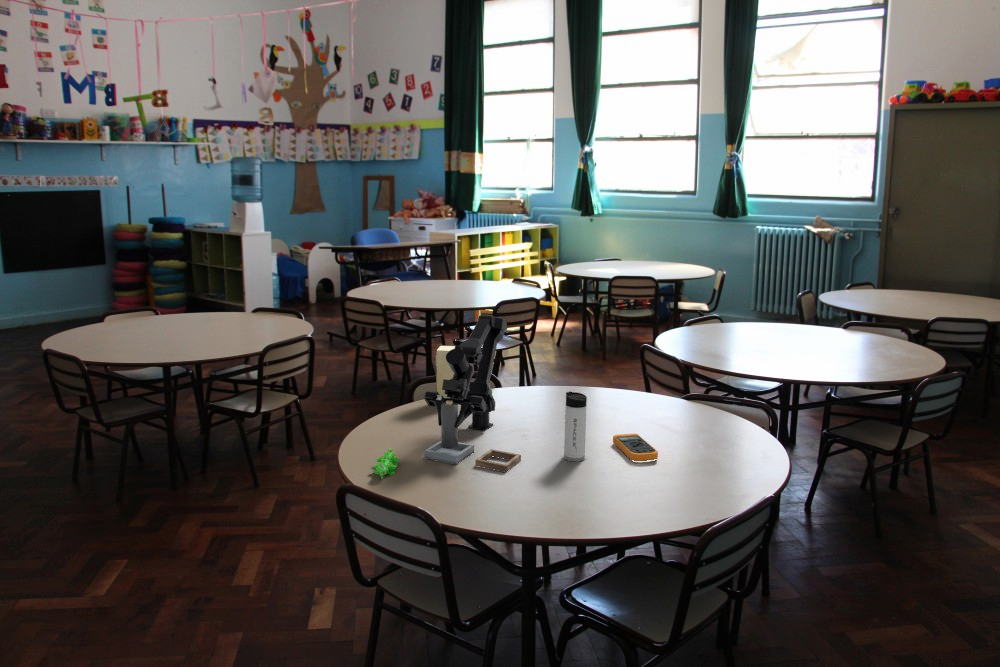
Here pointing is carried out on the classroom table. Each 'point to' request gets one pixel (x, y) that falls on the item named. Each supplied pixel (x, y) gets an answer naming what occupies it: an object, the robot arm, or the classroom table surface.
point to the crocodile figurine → (386, 464)
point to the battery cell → (449, 425)
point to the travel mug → (575, 426)
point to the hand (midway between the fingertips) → (447, 426)
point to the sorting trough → (449, 453)
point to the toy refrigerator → (443, 368)
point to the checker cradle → (498, 466)
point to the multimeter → (635, 447)
